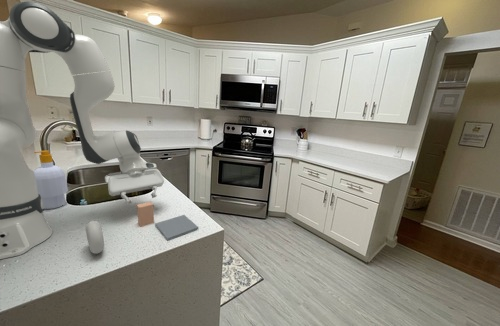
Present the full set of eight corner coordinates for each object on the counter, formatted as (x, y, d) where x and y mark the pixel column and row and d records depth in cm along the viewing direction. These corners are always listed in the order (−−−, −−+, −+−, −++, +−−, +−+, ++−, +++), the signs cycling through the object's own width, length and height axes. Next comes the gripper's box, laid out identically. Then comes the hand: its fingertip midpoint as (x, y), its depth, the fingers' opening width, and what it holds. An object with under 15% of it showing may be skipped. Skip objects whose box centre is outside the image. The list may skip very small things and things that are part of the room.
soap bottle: (33, 206, 88) (21, 150, 82) (63, 198, 97) (55, 147, 91) (43, 213, 84) (32, 154, 78) (74, 204, 92) (66, 151, 87)
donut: (87, 245, 67) (83, 217, 65) (100, 241, 70) (96, 214, 67) (92, 262, 60) (88, 231, 58) (106, 257, 63) (103, 227, 60)
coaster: (167, 240, 72) (167, 238, 72) (155, 225, 81) (154, 223, 80) (198, 229, 80) (198, 227, 80) (184, 216, 89) (184, 214, 88)
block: (140, 226, 79) (139, 207, 77) (138, 223, 81) (136, 204, 79) (154, 222, 83) (153, 204, 81) (151, 219, 85) (150, 201, 83)
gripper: (104, 170, 78) (112, 203, 74) (159, 163, 92) (169, 190, 88) (103, 178, 82) (111, 209, 78) (156, 170, 96) (165, 197, 92)
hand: (142, 199), depth 83 cm, fingers open, 8 cm apart
